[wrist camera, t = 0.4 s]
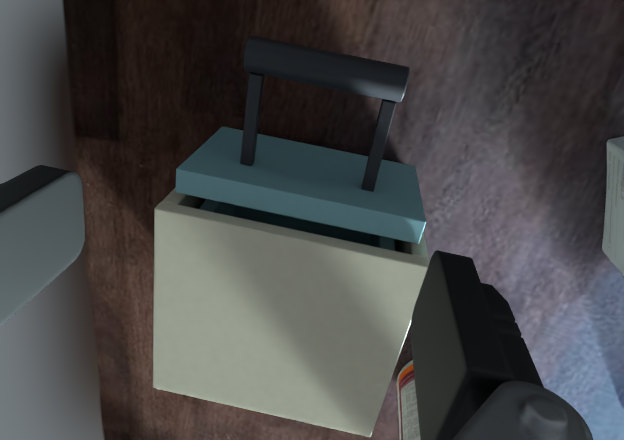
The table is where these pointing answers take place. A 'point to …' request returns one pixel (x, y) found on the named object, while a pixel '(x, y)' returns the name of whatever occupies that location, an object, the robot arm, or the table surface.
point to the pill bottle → (407, 404)
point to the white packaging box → (614, 204)
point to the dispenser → (278, 315)
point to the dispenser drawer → (310, 157)
